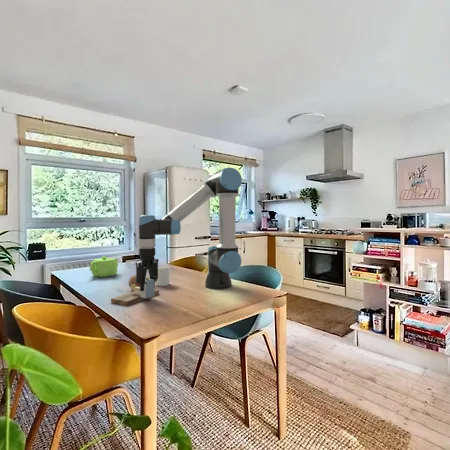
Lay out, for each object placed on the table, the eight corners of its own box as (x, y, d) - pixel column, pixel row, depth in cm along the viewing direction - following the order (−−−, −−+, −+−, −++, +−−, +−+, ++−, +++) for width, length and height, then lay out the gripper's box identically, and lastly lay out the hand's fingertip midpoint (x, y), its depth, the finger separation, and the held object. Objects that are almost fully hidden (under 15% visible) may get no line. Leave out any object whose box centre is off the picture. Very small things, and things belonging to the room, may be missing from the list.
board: (158, 293, 150) (158, 289, 150) (127, 305, 131) (126, 301, 131) (144, 291, 155) (143, 287, 155) (111, 302, 135) (110, 298, 135)
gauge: (154, 295, 141) (154, 276, 140) (147, 298, 136) (147, 278, 136) (135, 292, 146) (135, 274, 146) (128, 295, 142) (128, 276, 141)
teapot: (127, 275, 199) (127, 256, 198) (101, 280, 182) (101, 259, 181) (110, 272, 208) (110, 254, 208) (84, 277, 192) (83, 257, 191)
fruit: (140, 292, 154) (140, 277, 153) (126, 291, 155) (126, 276, 155) (146, 288, 162) (146, 274, 161) (133, 287, 163) (133, 273, 163)
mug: (152, 288, 162) (151, 269, 162) (146, 285, 169) (146, 267, 169) (171, 285, 169) (171, 267, 169) (166, 282, 176) (165, 265, 176)
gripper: (153, 245, 148) (154, 290, 149) (127, 249, 132) (127, 299, 133) (165, 246, 145) (165, 292, 146) (139, 250, 129) (140, 302, 130)
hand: (147, 295), depth 139 cm, fingers closed on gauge, 5 cm apart
